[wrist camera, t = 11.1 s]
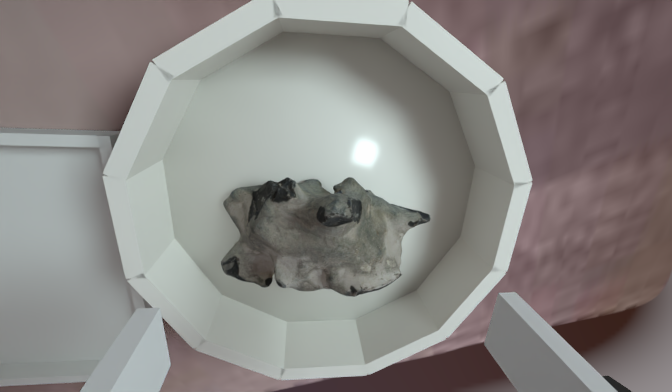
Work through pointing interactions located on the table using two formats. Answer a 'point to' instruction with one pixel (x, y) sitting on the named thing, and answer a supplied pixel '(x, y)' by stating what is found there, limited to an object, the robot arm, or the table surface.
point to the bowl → (318, 178)
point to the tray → (58, 257)
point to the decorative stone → (317, 236)
